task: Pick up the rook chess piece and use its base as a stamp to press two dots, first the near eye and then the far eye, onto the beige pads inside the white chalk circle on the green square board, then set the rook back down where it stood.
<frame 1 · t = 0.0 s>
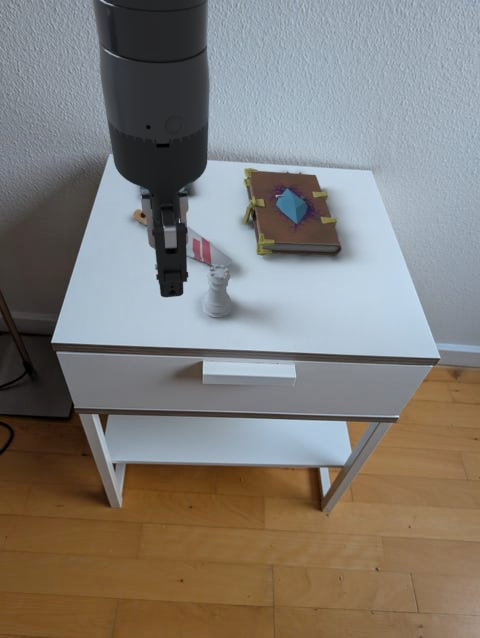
hand: (167, 263, 44), 18 cm above the nightstand, tool pointing down, fingers open, 8 cm apart
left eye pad: (164, 176, 79), point 3 cm above the nightstand, slide at -0.1 cm
green square board: (164, 182, 82), on the nightstand
book: (282, 213, 80), on the nightstand
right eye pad: (162, 162, 81), point 3 cm above the nightstand, slide at -0.1 cm
rook chess piece: (216, 308, 65), on the nightstand
grey trowel: (180, 244, 73), on the nightstand
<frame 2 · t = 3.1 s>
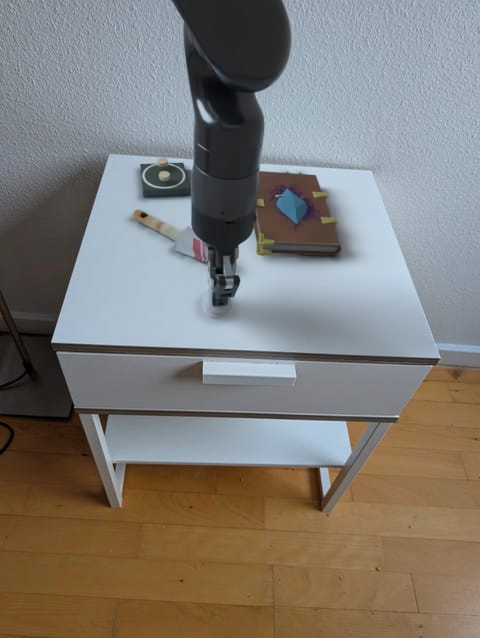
hand: (217, 293, 62), 3 cm above the nightstand, tool pointing down, fingers closed on rook chess piece, 3 cm apart
rook chess piece: (216, 308, 65), on the nightstand, touching gripper
everything else where it was.
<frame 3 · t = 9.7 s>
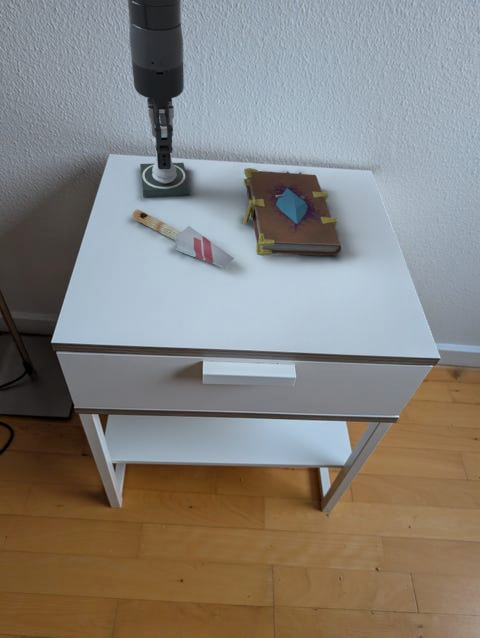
hand: (163, 161, 76), 6 cm above the nightstand, tool pointing down, fingers closed on rook chess piece, 3 cm apart
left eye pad: (164, 178, 79), point 2 cm above the nightstand, slide at -0.7 cm, touching rook chess piece
rook chess piece: (164, 177, 79), point 3 cm above the nightstand, touching gripper, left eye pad
everything else where it was.
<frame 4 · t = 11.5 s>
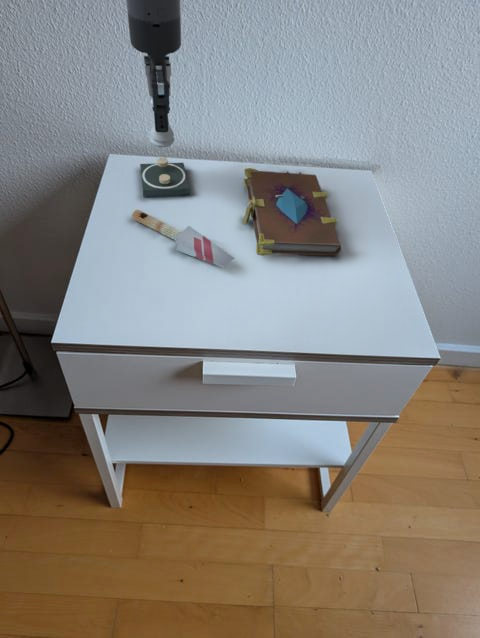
hand: (160, 124, 75), 11 cm above the nightstand, tool pointing down, fingers closed on rook chess piece, 3 cm apart
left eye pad: (164, 179, 79), point 2 cm above the nightstand, slide at -0.8 cm
rook chess piece: (162, 142, 77), point 7 cm above the nightstand, touching gripper
everything else where it was.
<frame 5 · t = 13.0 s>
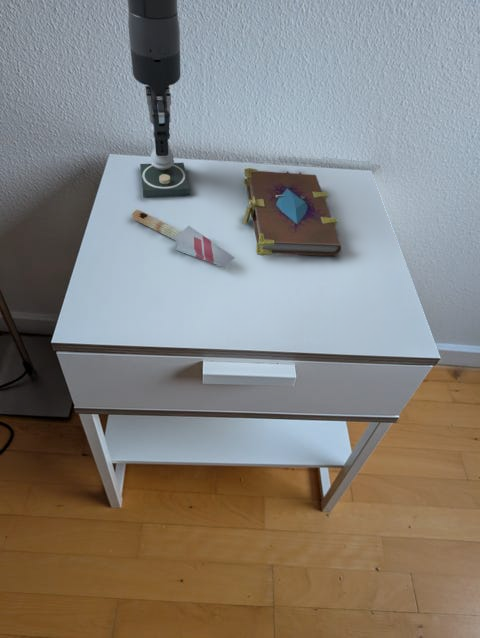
hand: (161, 148, 79), 6 cm above the nightstand, tool pointing down, fingers closed on rook chess piece, 3 cm apart
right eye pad: (162, 165, 82), point 2 cm above the nightstand, slide at -0.8 cm, touching rook chess piece
rook chess piece: (162, 164, 81), point 2 cm above the nightstand, touching gripper, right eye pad
everything else where it was.
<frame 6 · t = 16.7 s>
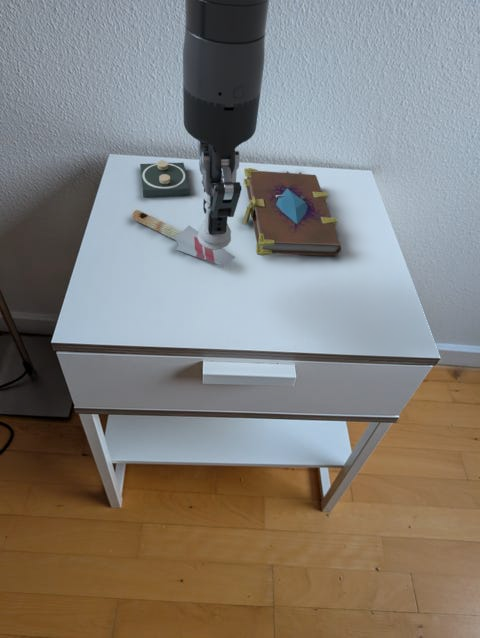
hand: (214, 221, 55), 14 cm above the nightstand, tool pointing down, fingers closed on rook chess piece, 3 cm apart
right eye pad: (162, 165, 82), point 2 cm above the nightstand, slide at -0.8 cm
rook chess piece: (214, 241, 57), point 11 cm above the nightstand, touching gripper
everything else where it was.
when the fingers open (3 cm above the nightstand, at t = 19.7 s): rook chess piece stays where it is, on the nightstand.
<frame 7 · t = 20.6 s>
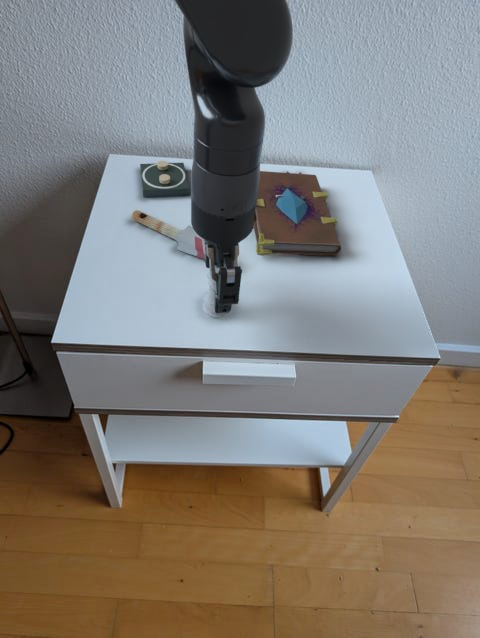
hand: (217, 287, 61), 5 cm above the nightstand, tool pointing down, fingers open, 8 cm apart
rook chess piece: (216, 308, 65), on the nightstand
everything else where it was.
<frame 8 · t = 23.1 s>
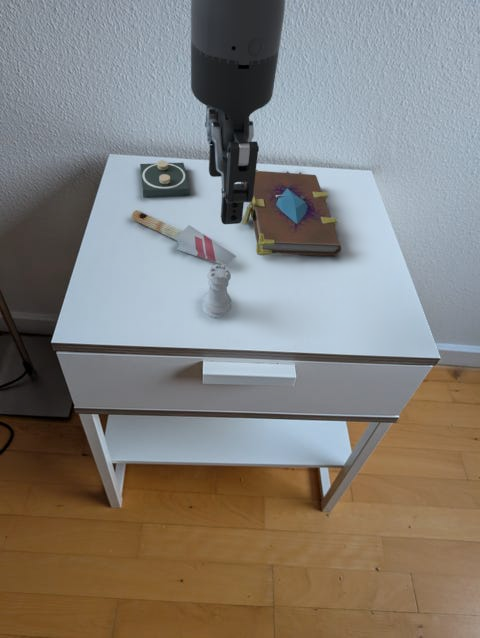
hand: (224, 197, 49), 20 cm above the nightstand, tool pointing down, fingers open, 8 cm apart
nothing on the nightstand moved.
at the end: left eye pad pushed in 0.8 cm at the most during the clip, back to 0.8 cm at the end; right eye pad pushed in 0.8 cm at the most during the clip, back to 0.8 cm at the end; rook chess piece tilted 0° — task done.
